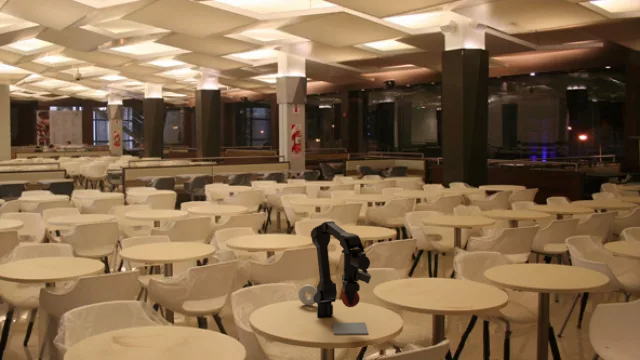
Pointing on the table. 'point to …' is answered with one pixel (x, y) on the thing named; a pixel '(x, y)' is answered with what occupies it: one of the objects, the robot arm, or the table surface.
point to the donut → (303, 298)
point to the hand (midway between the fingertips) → (350, 301)
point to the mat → (350, 328)
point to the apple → (345, 300)
